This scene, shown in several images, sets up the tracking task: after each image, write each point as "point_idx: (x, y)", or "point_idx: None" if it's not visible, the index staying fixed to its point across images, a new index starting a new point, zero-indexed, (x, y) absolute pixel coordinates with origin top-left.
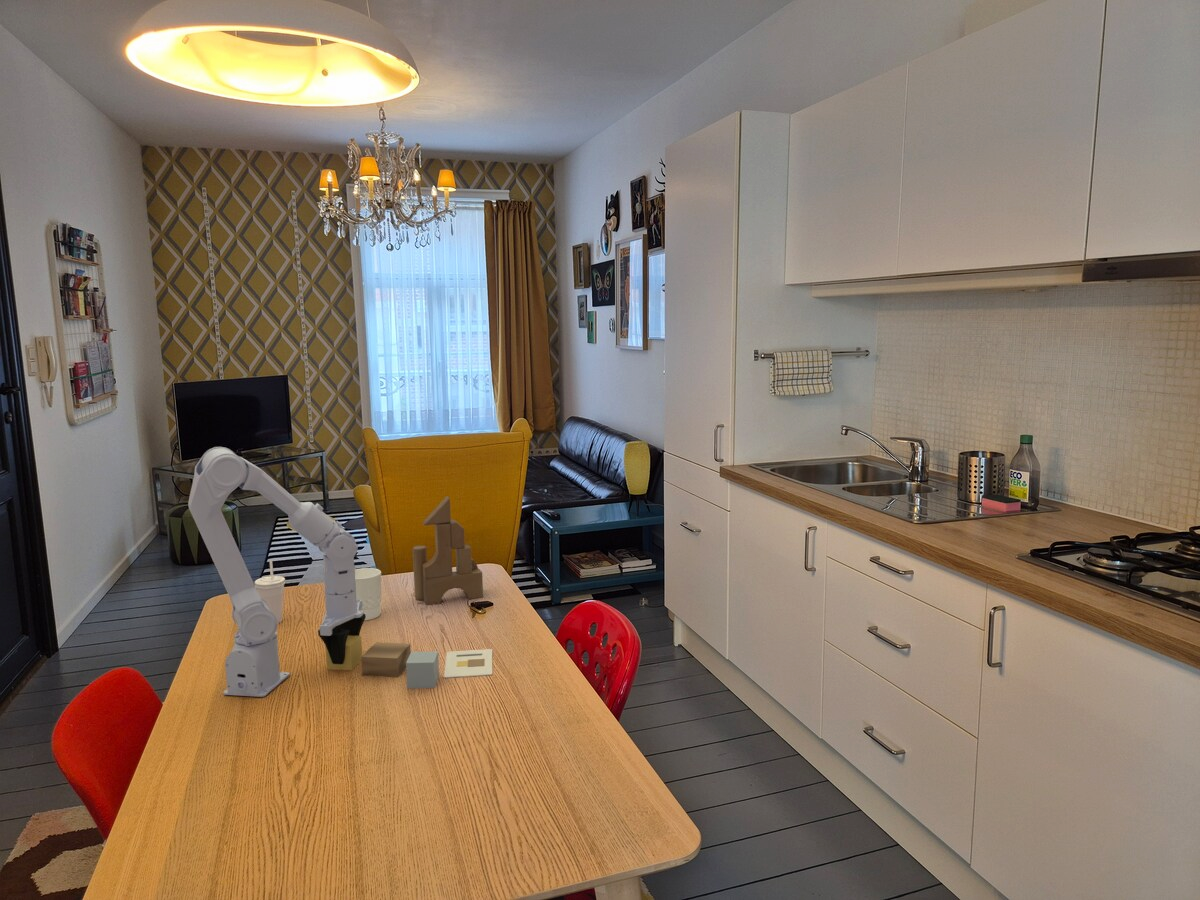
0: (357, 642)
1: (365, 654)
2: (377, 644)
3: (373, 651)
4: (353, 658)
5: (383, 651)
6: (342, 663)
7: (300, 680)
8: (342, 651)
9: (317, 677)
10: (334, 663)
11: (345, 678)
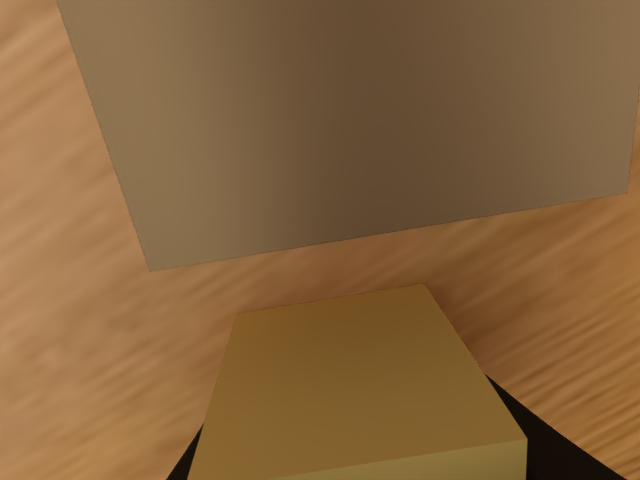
0: (303, 437)
1: (550, 180)
2: (206, 212)
3: (445, 127)
4: (399, 332)
5: None
6: None
7: None
8: (566, 441)
9: (554, 410)
10: None
11: (559, 248)
